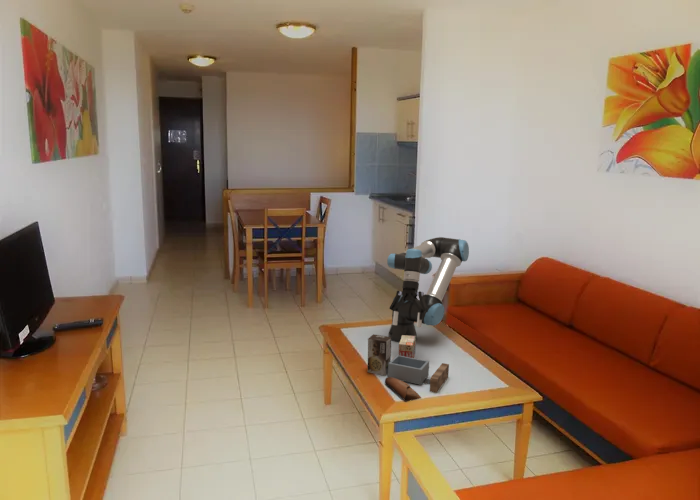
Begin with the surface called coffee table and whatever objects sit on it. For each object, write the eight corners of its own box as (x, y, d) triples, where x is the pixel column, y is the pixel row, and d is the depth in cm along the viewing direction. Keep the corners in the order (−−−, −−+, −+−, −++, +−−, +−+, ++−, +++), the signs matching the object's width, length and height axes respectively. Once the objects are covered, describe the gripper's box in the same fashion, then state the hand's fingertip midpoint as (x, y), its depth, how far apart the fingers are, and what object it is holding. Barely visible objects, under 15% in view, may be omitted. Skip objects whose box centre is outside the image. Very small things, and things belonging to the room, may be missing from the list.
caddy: (396, 369, 247) (397, 355, 246) (428, 375, 241) (429, 361, 239) (387, 377, 237) (388, 363, 236) (420, 384, 231) (421, 369, 230)
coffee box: (390, 371, 246) (392, 337, 243) (385, 376, 240) (386, 341, 237) (372, 367, 250) (373, 333, 247) (366, 372, 244) (367, 337, 241)
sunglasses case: (423, 398, 219) (416, 386, 217) (410, 409, 217) (403, 397, 215) (401, 380, 235) (395, 369, 233) (388, 390, 234) (382, 379, 231)
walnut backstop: (441, 375, 242) (442, 363, 241) (448, 377, 241) (448, 364, 239) (429, 391, 226) (430, 377, 225) (436, 392, 224) (437, 379, 223)
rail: (394, 372, 244) (394, 371, 244) (437, 381, 236) (437, 380, 236) (390, 376, 240) (390, 375, 240) (434, 385, 232) (434, 385, 231)
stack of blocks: (402, 352, 269) (403, 328, 267) (415, 353, 268) (416, 329, 266) (397, 369, 248) (398, 343, 246) (411, 370, 247) (412, 344, 245)
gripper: (385, 279, 264) (380, 323, 260) (429, 280, 248) (425, 326, 244) (394, 282, 269) (389, 325, 266) (437, 283, 253) (433, 328, 250)
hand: (406, 326), depth 255 cm, fingers open, 13 cm apart
